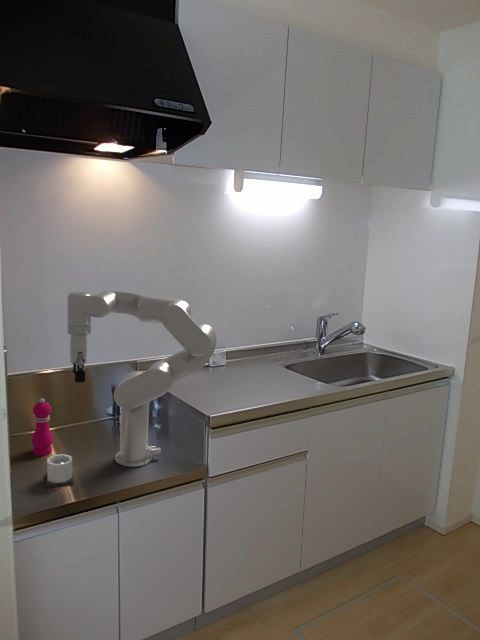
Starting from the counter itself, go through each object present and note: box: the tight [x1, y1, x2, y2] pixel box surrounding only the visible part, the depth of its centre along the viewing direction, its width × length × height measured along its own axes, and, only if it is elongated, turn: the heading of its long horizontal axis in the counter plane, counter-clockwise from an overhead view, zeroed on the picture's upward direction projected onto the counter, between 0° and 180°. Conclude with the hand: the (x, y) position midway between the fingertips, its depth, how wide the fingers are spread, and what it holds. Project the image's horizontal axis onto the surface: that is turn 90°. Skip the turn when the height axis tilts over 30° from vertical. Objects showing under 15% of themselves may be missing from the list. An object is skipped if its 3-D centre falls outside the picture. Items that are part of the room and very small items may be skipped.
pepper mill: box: [30, 397, 54, 457], centre depth 192 cm, size 7×7×20 cm
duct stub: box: [45, 460, 74, 488], centre depth 175 cm, size 8×8×6 cm
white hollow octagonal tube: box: [46, 453, 73, 483], centre depth 175 cm, size 7×7×6 cm
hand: (79, 377), depth 188 cm, fingers open, 9 cm apart
